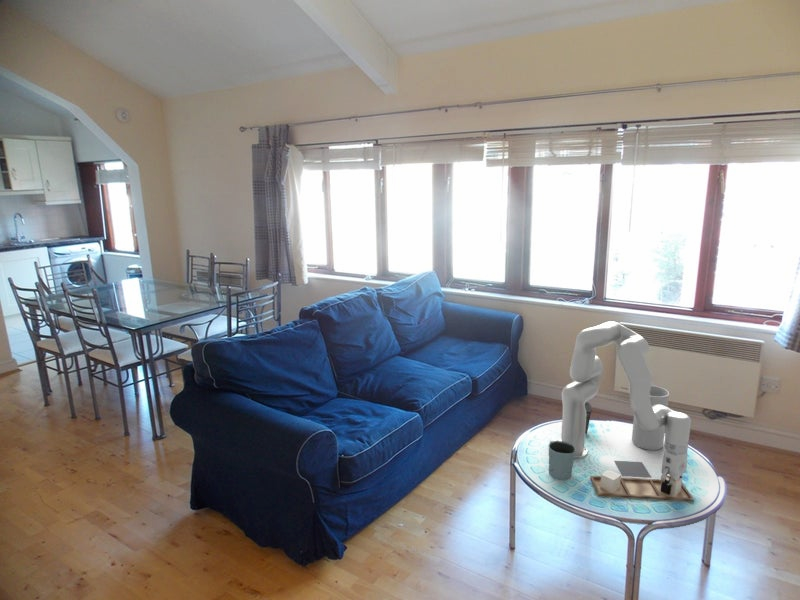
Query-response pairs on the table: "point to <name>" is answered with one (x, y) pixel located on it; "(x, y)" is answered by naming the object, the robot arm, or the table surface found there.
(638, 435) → the cylinder vase
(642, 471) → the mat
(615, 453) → the table surface
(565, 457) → the grey green pot
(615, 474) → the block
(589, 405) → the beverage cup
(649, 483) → the tray board
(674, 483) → the letter block
